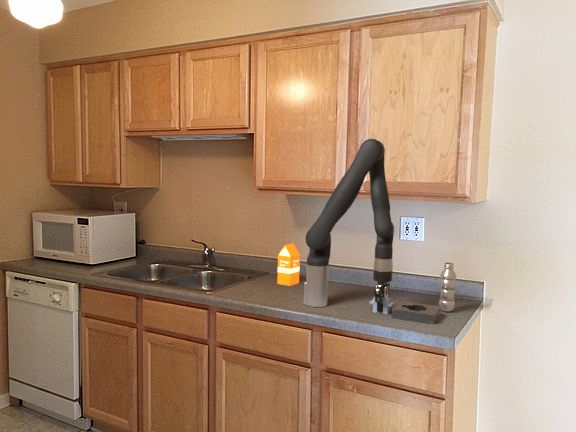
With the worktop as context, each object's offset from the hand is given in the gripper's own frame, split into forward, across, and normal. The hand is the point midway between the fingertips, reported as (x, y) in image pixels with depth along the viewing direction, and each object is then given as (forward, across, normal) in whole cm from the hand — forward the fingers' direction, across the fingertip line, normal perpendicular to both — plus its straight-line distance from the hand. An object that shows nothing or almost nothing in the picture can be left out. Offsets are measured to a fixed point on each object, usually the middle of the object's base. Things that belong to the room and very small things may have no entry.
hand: (381, 310), depth 199 cm
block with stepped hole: (+1, -1, +14) cm, 14 cm away
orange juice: (+1, -26, -56) cm, 62 cm away
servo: (+1, 0, 0) cm, 1 cm away
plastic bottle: (+1, -16, +23) cm, 28 cm away
